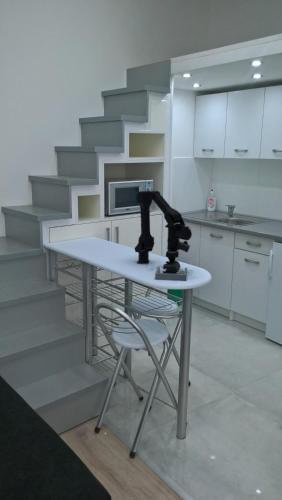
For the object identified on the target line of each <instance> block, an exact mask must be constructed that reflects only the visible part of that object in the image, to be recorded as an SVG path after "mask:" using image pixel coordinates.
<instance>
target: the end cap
mask: <svg viewBox="0 0 282 500" xmlns="http://www.w3.org/2000/svg"><path fill="white" fill-rule="evenodd" d="M180 269H181V264H180V262H179V261H178V260H176V259H175V260H174V262H171V261H169V260H166V261H165V263H163V265H162V270H163V271H162V273H168V274H178V273H179V271H180ZM164 270H165V271H164Z"/></svg>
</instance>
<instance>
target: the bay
mask: <svg viewBox="0 0 282 500" xmlns="http://www.w3.org/2000/svg"><path fill="white" fill-rule="evenodd" d="M187 273H188V267H184V273H177V274H168V273H163V272H160V266H157V268H156V270H155V274H154V280H155V281H156V280H158V281H159V280H160V281H179V282H186V281H187V275H188V274H187Z"/></svg>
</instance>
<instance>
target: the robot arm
mask: <svg viewBox="0 0 282 500" xmlns="http://www.w3.org/2000/svg"><path fill="white" fill-rule="evenodd" d="M136 201H137V204H138V206H139V208H140V235H139V237H138V242H137V245H136V246H135V247H134V252H135V253H138V256H137V257H138V260H137V262H136V264H147V265H148V264H150V262H151V260H150V259H149V257H150V255H149V254H150V253H149V252H153V249H154V246H155V237H154V236H152V234H151V215H150V213H151V212H150V211H151V210H150V207H151V206H152V204H153V202H154V204H155V205H156V207H158V208H159V209H160V211H161V212H162V213H163V217H164V218H163V219H164V220H165V221H166V223H167V224H165V226H164V227H165V228H167V246H166V252H165V258H168V261H171V262H174V260H176V258H179V255H180V253H179V251H180V250H181V251H183V252H185V253H188V252H189V250H190V247H191V245H190V244H189V242H188V241H189V240H190V239H191V238H192V235H193V232H192V231H191V229H190V226H186V223H185V221H184V219H183V217H182V216H183V215H182V213H180V212H179V211H178V210H177V209H175V208H172V206H171V205H170V204H169V203H168V201H167V200H166V199H165V198H164V197H163V196H162V194H161V192H160V191H159V190H151V191H150V190H140V191H138V192H137V193H136ZM180 240H183V241H180Z"/></svg>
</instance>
